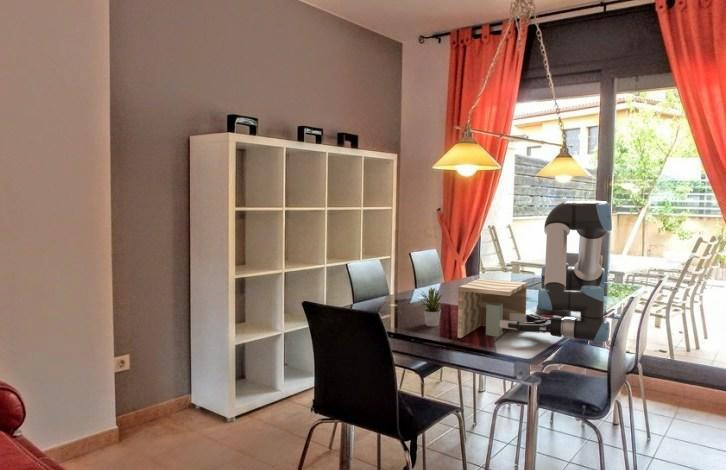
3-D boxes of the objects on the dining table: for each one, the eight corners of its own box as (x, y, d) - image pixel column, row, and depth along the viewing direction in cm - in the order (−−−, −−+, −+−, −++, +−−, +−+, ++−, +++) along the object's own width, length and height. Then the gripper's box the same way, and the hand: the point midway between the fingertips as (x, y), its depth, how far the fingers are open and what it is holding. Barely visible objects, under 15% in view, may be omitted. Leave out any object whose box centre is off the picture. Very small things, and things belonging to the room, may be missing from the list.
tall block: (489, 332, 213) (490, 302, 212) (502, 333, 210) (502, 303, 210) (485, 334, 209) (486, 304, 208) (498, 336, 206) (499, 305, 205)
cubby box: (478, 324, 226) (479, 278, 224) (525, 330, 216) (526, 282, 214) (457, 337, 205) (458, 286, 203) (508, 344, 195) (509, 291, 193)
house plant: (411, 320, 232) (411, 283, 231) (442, 320, 233) (443, 283, 232) (416, 328, 218) (417, 288, 217) (450, 328, 219) (450, 288, 218)
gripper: (555, 344, 185) (495, 336, 196) (568, 329, 207) (513, 323, 217) (556, 323, 185) (495, 316, 195) (569, 310, 206) (513, 304, 217)
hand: (504, 319), depth 206 cm, fingers open, 13 cm apart
